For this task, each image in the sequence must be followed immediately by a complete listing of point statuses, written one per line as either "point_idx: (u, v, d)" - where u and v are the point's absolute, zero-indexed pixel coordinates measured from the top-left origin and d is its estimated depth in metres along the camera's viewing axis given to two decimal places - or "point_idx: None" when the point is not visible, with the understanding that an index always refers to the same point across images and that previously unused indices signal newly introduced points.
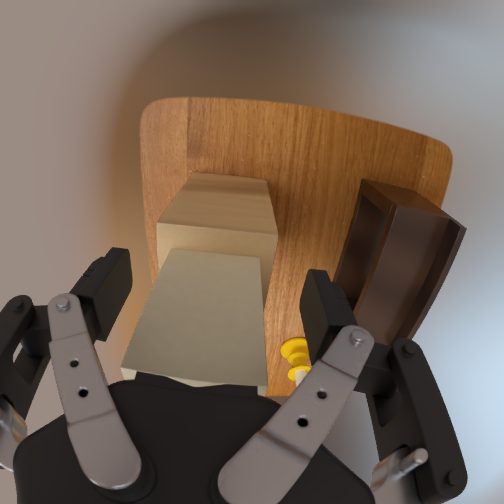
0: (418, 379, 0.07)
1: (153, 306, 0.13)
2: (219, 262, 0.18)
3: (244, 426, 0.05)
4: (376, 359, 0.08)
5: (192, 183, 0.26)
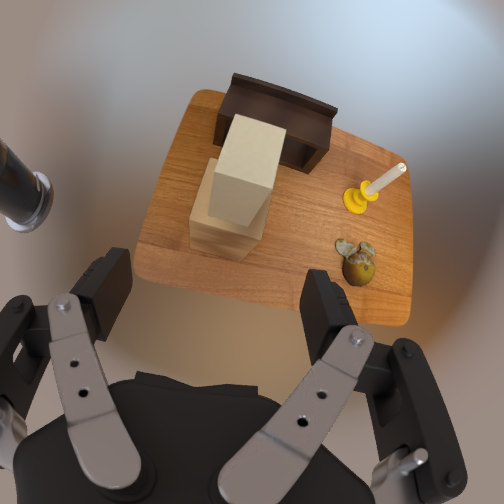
0: (418, 379, 0.07)
1: None
2: None
3: (244, 426, 0.05)
4: (376, 359, 0.08)
5: None
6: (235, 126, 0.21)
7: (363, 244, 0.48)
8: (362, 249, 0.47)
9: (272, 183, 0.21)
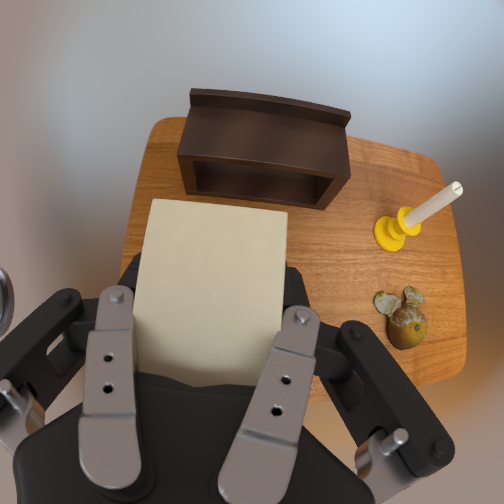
0: (375, 360, 0.07)
1: None
2: None
3: None
4: (323, 340, 0.09)
5: None
6: (156, 237, 0.08)
7: (407, 290, 0.34)
8: (408, 299, 0.33)
9: None
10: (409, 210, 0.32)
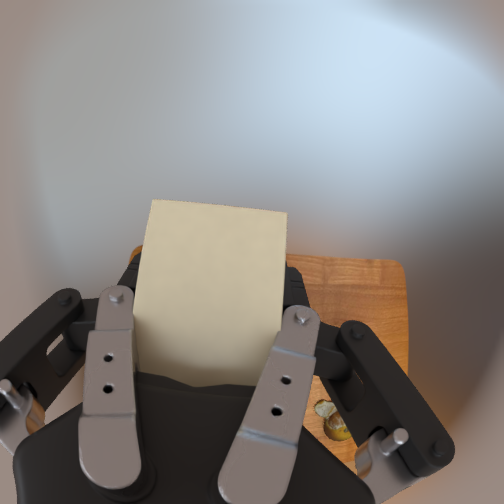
0: (375, 360, 0.07)
1: None
2: None
3: None
4: (323, 340, 0.09)
5: None
6: (156, 237, 0.08)
7: None
8: None
9: None
10: None
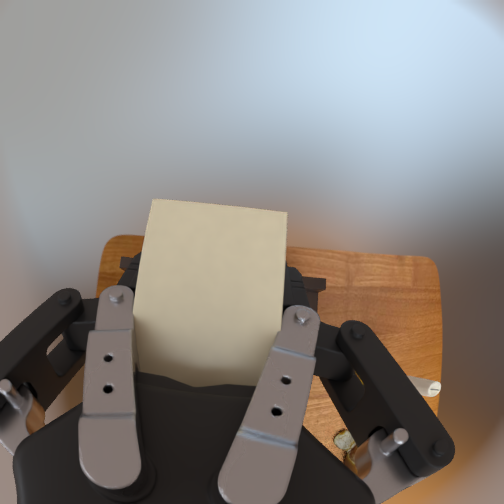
0: (375, 360, 0.07)
1: None
2: None
3: None
4: (323, 340, 0.09)
5: None
6: (156, 237, 0.08)
7: None
8: None
9: None
10: None
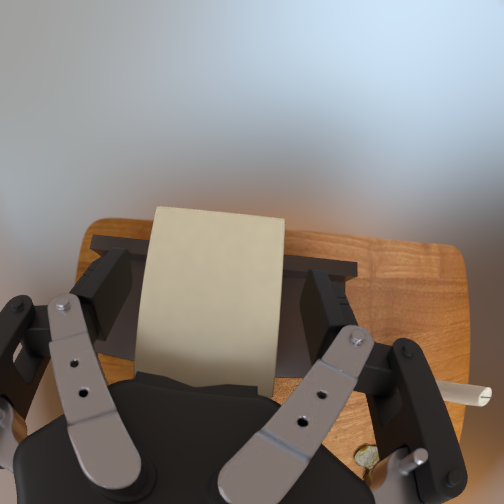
0: (418, 379, 0.07)
1: None
2: None
3: (244, 426, 0.05)
4: (376, 359, 0.08)
5: None
6: (160, 243, 0.09)
7: None
8: None
9: (271, 384, 0.08)
10: None
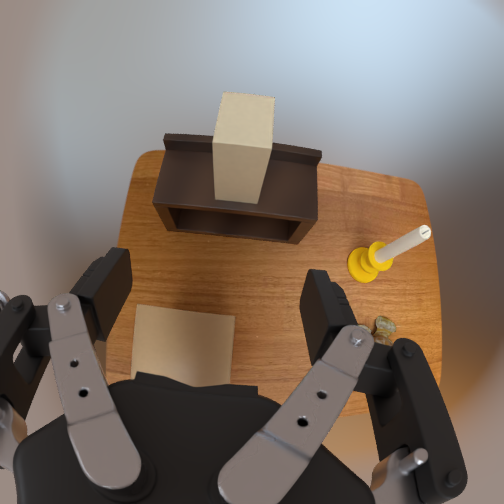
0: (418, 379, 0.07)
1: None
2: None
3: (244, 426, 0.05)
4: (376, 359, 0.08)
5: None
6: (226, 101, 0.21)
7: (379, 320, 0.36)
8: (378, 329, 0.35)
9: (271, 144, 0.20)
10: (381, 245, 0.34)
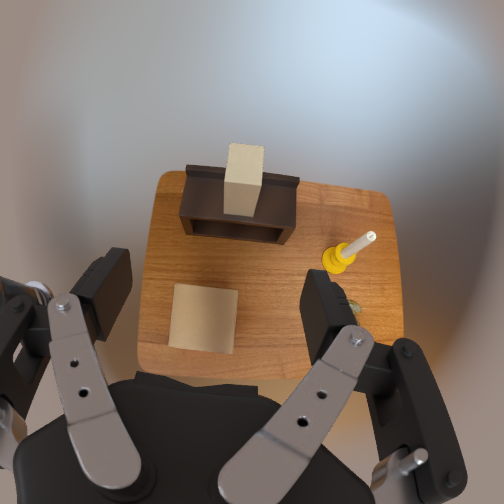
0: (418, 379, 0.07)
1: None
2: None
3: (244, 426, 0.05)
4: (376, 359, 0.08)
5: None
6: (232, 151, 0.34)
7: None
8: None
9: (260, 182, 0.34)
10: (346, 245, 0.47)
